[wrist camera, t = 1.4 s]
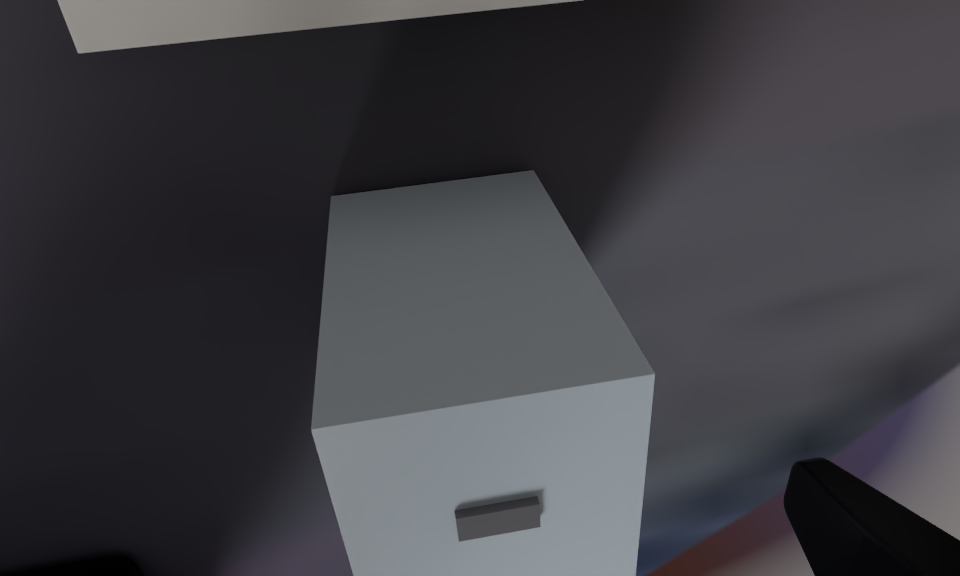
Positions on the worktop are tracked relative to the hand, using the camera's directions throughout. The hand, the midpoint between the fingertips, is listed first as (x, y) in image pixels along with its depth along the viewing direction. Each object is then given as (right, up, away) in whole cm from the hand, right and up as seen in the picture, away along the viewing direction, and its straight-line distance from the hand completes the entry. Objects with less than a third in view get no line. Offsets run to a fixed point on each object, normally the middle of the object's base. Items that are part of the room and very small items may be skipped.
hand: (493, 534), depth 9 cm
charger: (-1, +4, +6) cm, 7 cm away
